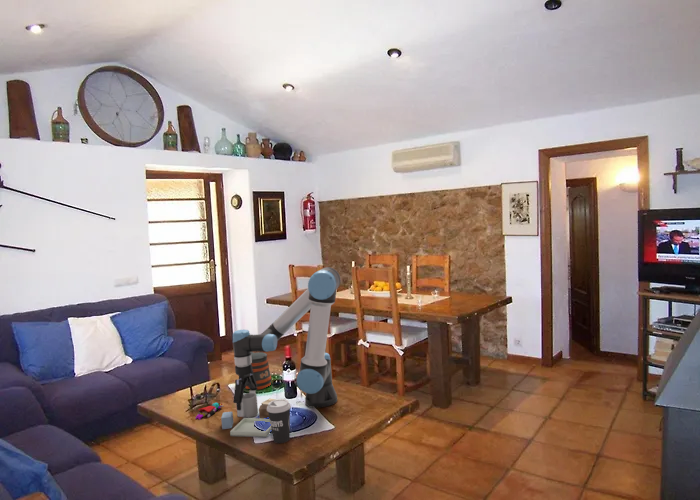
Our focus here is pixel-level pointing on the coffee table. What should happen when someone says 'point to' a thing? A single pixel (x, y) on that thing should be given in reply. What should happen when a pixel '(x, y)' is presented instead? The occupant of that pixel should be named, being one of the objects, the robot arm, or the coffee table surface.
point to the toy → (208, 410)
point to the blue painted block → (227, 420)
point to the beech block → (267, 401)
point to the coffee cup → (279, 420)
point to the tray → (249, 428)
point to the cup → (250, 405)
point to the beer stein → (260, 370)
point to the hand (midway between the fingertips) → (247, 410)
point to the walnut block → (263, 411)
